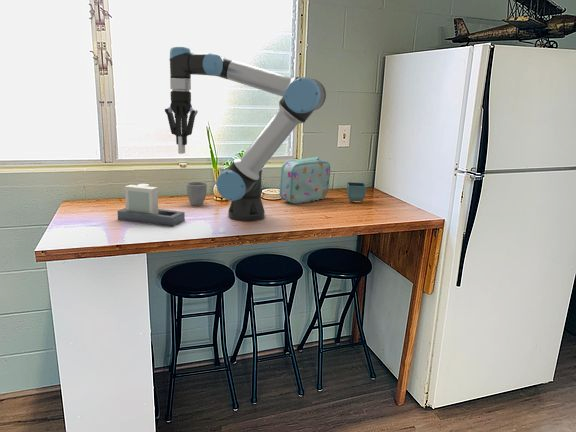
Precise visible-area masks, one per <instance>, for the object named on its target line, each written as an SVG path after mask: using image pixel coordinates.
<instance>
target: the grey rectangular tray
mask: <svg viewBox="0 0 576 432" xmlns="http://www.w3.org/2000/svg"><path fill="white" fill-rule="evenodd" d="M185 213H186V212H185V211H180V210H179V211H177V210H171V209H163V208H158V214H151V213H142V212H134V211H126V207H125V208H122V209H120V210H119V209H118V210H117V221H125V222H126V221H127V222H133V223H142V224H149V225H156V226H157V225H158V226H164V227H175V226H177V225H178V224H180V223H183V222H185V220H186V219H185V217H186V215H185Z"/></svg>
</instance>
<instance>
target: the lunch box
mask: <svg viewBox="0 0 576 432" xmlns="http://www.w3.org/2000/svg"><path fill="white" fill-rule="evenodd" d="M330 177H331V164H330V163H329V162H328V161H326V160H323V159H321V158H320V157H318V156H313V157H307V158H298V159H287V160H286V161H284V162H283V164H282V166H281V171H280V183H279V196H280V199H281V200H282V201H287V202H288V203H291V204H294V205H297V204H304V203H312V202H311V201H313V202H315V200H317V201H320V200H319V199H322V198H324V199H325V198H326V196H327V195H328V191H329V187H330V186H329V185H330V179H331V178H330ZM322 200H323V199H322ZM303 202H304V203H303Z"/></svg>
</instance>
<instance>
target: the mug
mask: <svg viewBox="0 0 576 432" xmlns="http://www.w3.org/2000/svg"><path fill="white" fill-rule="evenodd" d="M207 188H208V185H207V183H206V182H204V181H191V182H189V181H188V182H187V183H186V193H187V198H188V200H189V203H190V205H191V206H193V205H194V206H195V207H199V206H203V205H204V202H205V199H206V195H207Z"/></svg>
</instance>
